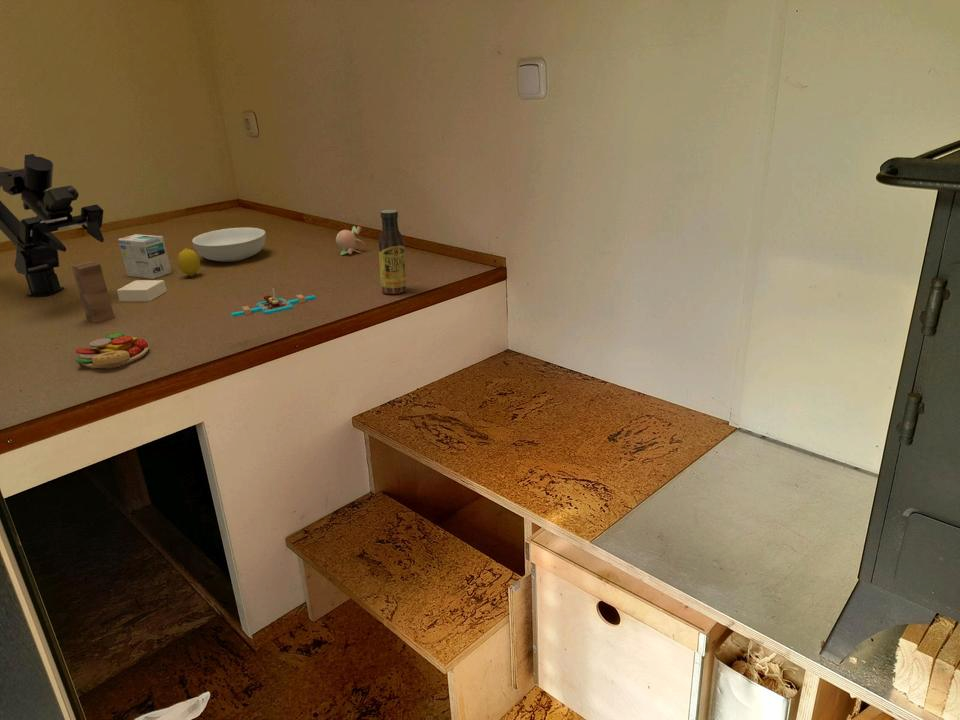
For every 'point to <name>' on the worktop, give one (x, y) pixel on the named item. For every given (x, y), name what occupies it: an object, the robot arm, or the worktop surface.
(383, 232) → the sauce bottle
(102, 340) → the toy food set
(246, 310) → the multicoloured piece
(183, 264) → the lemon
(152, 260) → the light bulb box
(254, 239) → the serving bowl
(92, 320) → the walnut column
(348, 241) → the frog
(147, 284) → the cream plinth
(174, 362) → the worktop surface
